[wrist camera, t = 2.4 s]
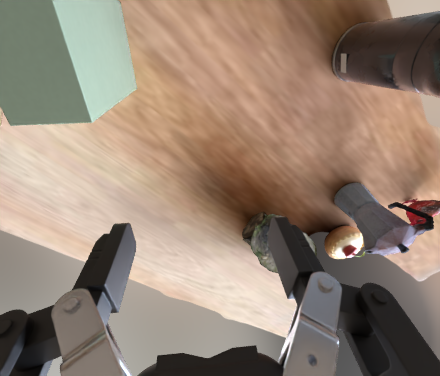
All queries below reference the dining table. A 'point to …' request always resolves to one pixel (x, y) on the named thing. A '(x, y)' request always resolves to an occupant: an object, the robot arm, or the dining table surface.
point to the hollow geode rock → (264, 239)
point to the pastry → (344, 242)
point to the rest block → (62, 60)
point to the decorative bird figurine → (422, 210)
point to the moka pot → (379, 221)
